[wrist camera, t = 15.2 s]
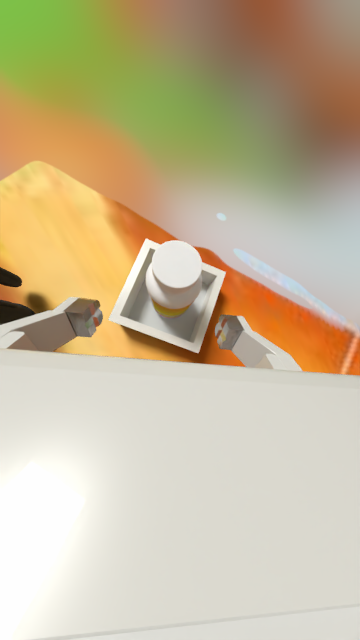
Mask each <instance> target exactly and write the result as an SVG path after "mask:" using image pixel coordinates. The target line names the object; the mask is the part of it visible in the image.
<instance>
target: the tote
mask: <svg viewBox="0 0 360 640" xmlns="http://www.w3.org/2000/svg"><path fill="white" fill-rule="evenodd" d="M159 246H160V244H158V243H155V242H153V241H150V240H148V239H146V240H145V242H144V244H143V246H142V248H141V250H140V252H139V255H138V257H137V259H136V261H135V263H134V265H133V268H132V270H131V272H130V274H129V276H128V278H127V280H126V283H125V285H124V287H123V289H122V291H121V293H120V296H119V298H118V300H117V302H116V304H115V306H114V308H113V311H112V313H111V315H110V317H109V319H108V320H110V321H112V322H115V323H118V324H120V325H123V326H126V327H128V328H131V329H134V330H136V331H139V332H142V333H145V334H147V335H150V336H153V337H155V338H158V339H161V340H163V341H166V342H169V343H171V344H174V345H177V346H179V347H182V348H185V349H187V350H190V351H193V352H196V353H199V350H200V348H201V345H202V342H203V339H204V336H205V333H206V330H207V327H208V324H209V321H210V318H211V315H212V312H213V309H214V306H215V303H216V300H217V297H218V294H219V291H220V288H221V285H222V282H223V279H224V276H225V273H226V272H224V271H222V270H219V269H217V268H215V267H212V266H210V265H207V264H205V263H203V262H202V272H201V276H202V287H201V291H200V293H199V295H198V297H197V298H196V299H195V300H194V302H193V303H192V304H191V305H190V307H189V308H188V309H187V310H186V312H185V313H184V314H182V315H181V316H179V317H177V318H173V319H169V318H165V317H162V316H160V315H159V314H158V313H157V312H156V311H155V309H154V307H153V305H152V302H151V299H150V296H149V293H148V290H147V287H146V280H145V279H146V272H147V269H148V267H149V265H150V264H151V262H152V257H153V254H154V252H155V251H156V249H157V248H158V247H159Z"/></svg>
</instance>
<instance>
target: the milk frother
mask: <svg viewBox="0 0 360 640" xmlns="http://www.w3.org/2000/svg"><path fill="white" fill-rule="evenodd" d="M21 283H22V280H21V278H20V277H18V276H17V275H15V274H13V273H11V272H9V271H7V270H5V269H3V268H0V284H2V285H5V286H10V287H19V286H21V285H22V284H21ZM32 315H35V313H34V312H33V311H32V310H31V309H29V308H28V307H26V306H23V305H21V304H16V303H12V302H8V301H4V300H0V325H2V324H6V323H9V322H12V321H15V320H19V319H22V318H25V317H29V316H32Z"/></svg>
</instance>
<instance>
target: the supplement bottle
mask: <svg viewBox="0 0 360 640" xmlns="http://www.w3.org/2000/svg"><path fill="white" fill-rule="evenodd" d="M201 272H202V260H201V257H200V255H199V253H198V252H197V251H196V249H195V248H193V247H192V246H191V245H189V244H188V243H185V242H182V241H168V242H165V243H163V244H162V245H160V246H159V247H158V248H157V249H156V251H155V252H154V254H153V257H152V262H151V264H150V265H149V267H148V269H147V272H146V279H145V280H146V287H147V290H148V293H149V296H150V299H151V302H152V305H153V307H154V309H155V311H156V312H157V313H158V314H159V315H160V316H162V317H165V318H169V319H173V318H177V317H179V316H181V315H182V314H184V313H185V312H186V310H187V309H188V308H189V307H190V305H191V304H192V303H193V302H194V300H195V299H196V298H197V297H198V295H199V293H200V291H201V287H202V276H201Z"/></svg>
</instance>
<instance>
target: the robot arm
mask: <svg viewBox="0 0 360 640" xmlns="http://www.w3.org/2000/svg"><path fill="white" fill-rule="evenodd" d="M99 307H100V303H99V301H98V300H93V299H86V298H78V297H69V298H68V299H67V300H65V301H64V302H63V303H61V304H60V305H59V306H58V307H56V308H55V309H54V310H52V311H51V310H49V311H45V312H42V313H39V314H35V315H32V316H29V317H25V318H22V319H19V320H15V321H12V322H9V323H6V324H2V325H0V640H360V376H356V375H343V374H330V373H317V372H304V371H302V369H301V368H300V367H299V366H298V364H297V363H296V362H295V360H294V359H293V358H292V357H291V355H289V354H288V353H286V352H285V351H283V350H282V349H280V348H279V347H277V346H276V345H274V344H273V343H271V342H270V341H268V340H267V339H265V338H264V337H262V336H261V335H259V334H258V333H256V332H253V331H252V329H251V328H250V326H249V325H248V323H247V322H246V320H245V318H244V317H242V316H232V315H222V314H221V315H220V317H219V323H217V324H216V327H215V335H216V337H217V338H218V341H217V342H218V345H219V348H220V349H227V350H231V351H232V352H233V353H234V354H235V355H236V356H237V357H238V358H239V359H240V360H241V362H242V363H243V364H244V365H245V366H246V367H239V366H226V365H213V364H200V363H187V362H174V361H161V360H148V359H135V358H122V357H109V356H96V355H83V354H70V353H57V352H52V351H54V350H56V349H57V348H59V347H61V346H62V345H64V344H66V343H67V342H69V341H71V340H72V339H74V338H75V337H76V336H81V337H92V335H93V334H94V332H95V331H96V327H97V326H99V325H100V324H101V322H102V319H103V315H102V311H101V310H100V309H99Z"/></svg>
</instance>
